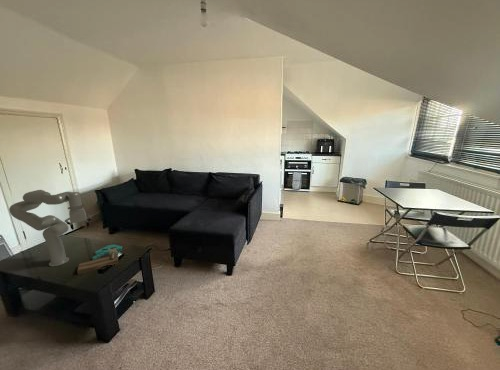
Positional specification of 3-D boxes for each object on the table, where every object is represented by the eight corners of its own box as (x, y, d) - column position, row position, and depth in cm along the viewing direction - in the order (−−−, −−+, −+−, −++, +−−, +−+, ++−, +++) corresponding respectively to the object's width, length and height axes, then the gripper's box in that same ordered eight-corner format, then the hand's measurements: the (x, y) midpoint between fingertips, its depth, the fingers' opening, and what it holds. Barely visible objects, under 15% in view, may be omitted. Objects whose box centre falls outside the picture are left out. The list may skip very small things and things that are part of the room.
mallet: (110, 256, 183) (109, 249, 182) (117, 255, 186) (116, 247, 184) (110, 264, 172) (108, 256, 170) (117, 262, 174) (116, 254, 173)
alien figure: (119, 255, 187) (123, 244, 205) (119, 252, 186) (123, 242, 204) (92, 260, 179) (98, 249, 197) (92, 257, 178) (98, 247, 196)
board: (80, 266, 169) (79, 263, 169) (118, 257, 182) (117, 253, 182) (77, 274, 159) (77, 271, 159) (118, 263, 172) (117, 260, 172)
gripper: (61, 211, 159) (65, 232, 162) (89, 207, 167) (93, 227, 171) (63, 208, 165) (67, 228, 168) (90, 204, 174) (94, 224, 177)
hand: (80, 227), depth 170 cm, fingers open, 9 cm apart
